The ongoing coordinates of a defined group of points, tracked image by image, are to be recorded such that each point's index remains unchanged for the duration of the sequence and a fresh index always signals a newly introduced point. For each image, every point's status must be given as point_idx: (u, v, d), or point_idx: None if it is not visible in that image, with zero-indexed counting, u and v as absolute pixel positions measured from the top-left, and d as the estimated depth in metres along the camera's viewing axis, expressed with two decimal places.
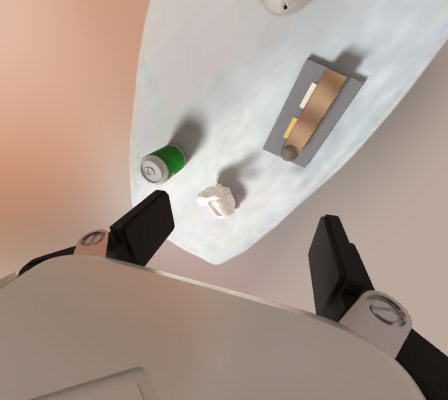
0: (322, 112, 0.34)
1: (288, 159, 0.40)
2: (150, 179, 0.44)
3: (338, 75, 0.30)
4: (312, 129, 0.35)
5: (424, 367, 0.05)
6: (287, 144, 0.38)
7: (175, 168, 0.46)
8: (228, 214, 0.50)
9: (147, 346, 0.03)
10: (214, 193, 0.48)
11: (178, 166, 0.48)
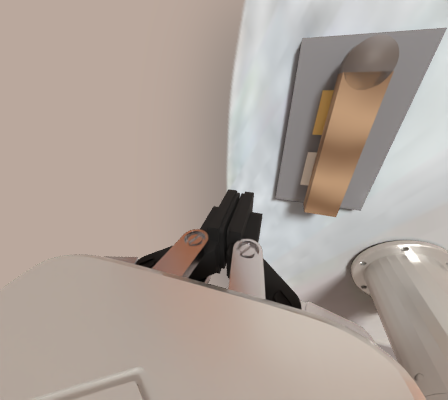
0: (321, 168, 0.20)
1: (370, 44, 0.14)
2: None
3: (317, 212, 0.22)
4: (328, 137, 0.18)
5: None
6: (381, 84, 0.15)
7: None
8: None
9: (147, 346, 0.03)
10: None
11: None
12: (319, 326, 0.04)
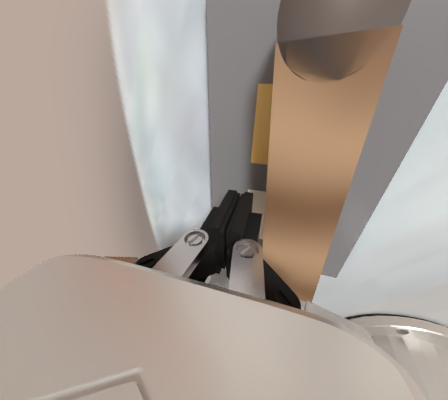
0: (271, 234, 0.11)
1: None
2: None
3: None
4: (273, 183, 0.09)
5: None
6: (371, 63, 0.06)
7: None
8: None
9: (147, 346, 0.03)
10: None
11: None
12: (319, 326, 0.04)
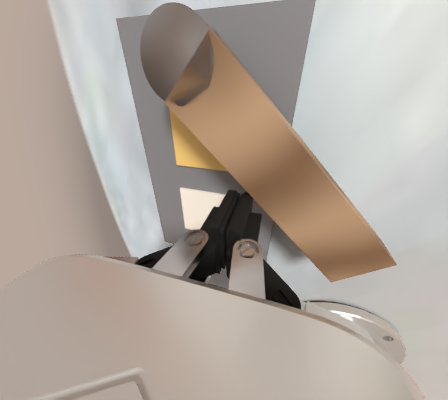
0: (280, 217, 0.10)
1: (149, 45, 0.08)
2: None
3: (351, 273, 0.11)
4: (240, 176, 0.10)
5: None
6: (216, 59, 0.07)
7: None
8: None
9: (147, 346, 0.03)
10: None
11: None
12: (319, 326, 0.04)
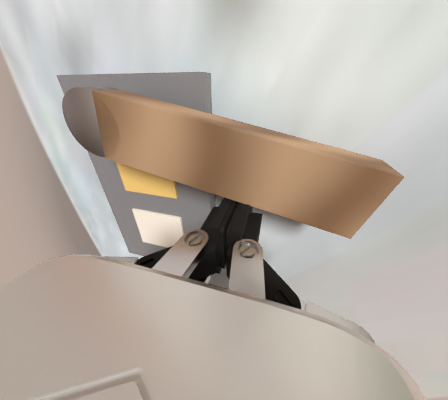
0: (242, 196, 0.10)
1: (74, 127, 0.10)
2: None
3: (362, 216, 0.08)
4: (186, 180, 0.10)
5: None
6: (108, 106, 0.09)
7: None
8: None
9: (147, 346, 0.03)
10: None
11: None
12: (319, 326, 0.04)
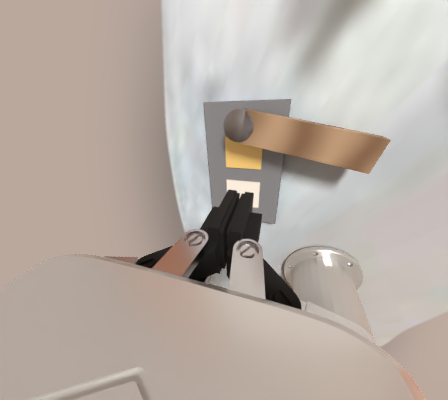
0: (314, 156, 0.20)
1: (227, 128, 0.21)
2: None
3: (374, 160, 0.19)
4: (284, 150, 0.21)
5: None
6: (252, 116, 0.20)
7: None
8: None
9: (147, 346, 0.03)
10: None
11: None
12: (319, 326, 0.04)
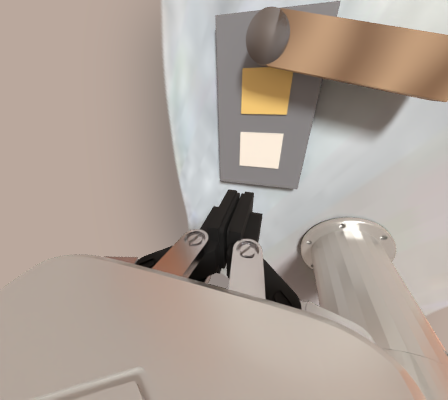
0: (371, 79, 0.15)
1: (251, 41, 0.15)
2: None
3: None
4: (329, 73, 0.15)
5: None
6: (289, 18, 0.14)
7: None
8: None
9: (147, 346, 0.03)
10: None
11: None
12: (319, 326, 0.04)
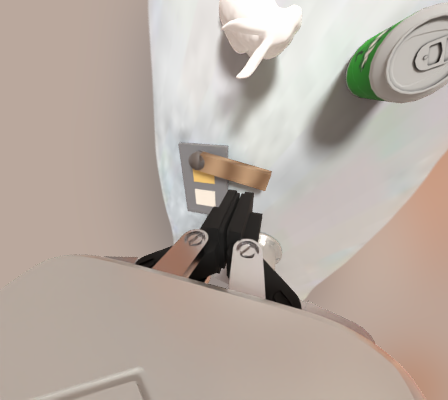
0: (237, 180, 0.36)
1: (190, 162, 0.37)
2: (441, 24, 0.15)
3: (265, 184, 0.35)
4: (222, 176, 0.37)
5: None
6: (203, 158, 0.36)
7: (359, 71, 0.22)
8: (221, 9, 0.23)
9: (147, 346, 0.03)
10: None
11: (355, 72, 0.23)
12: (319, 326, 0.04)
